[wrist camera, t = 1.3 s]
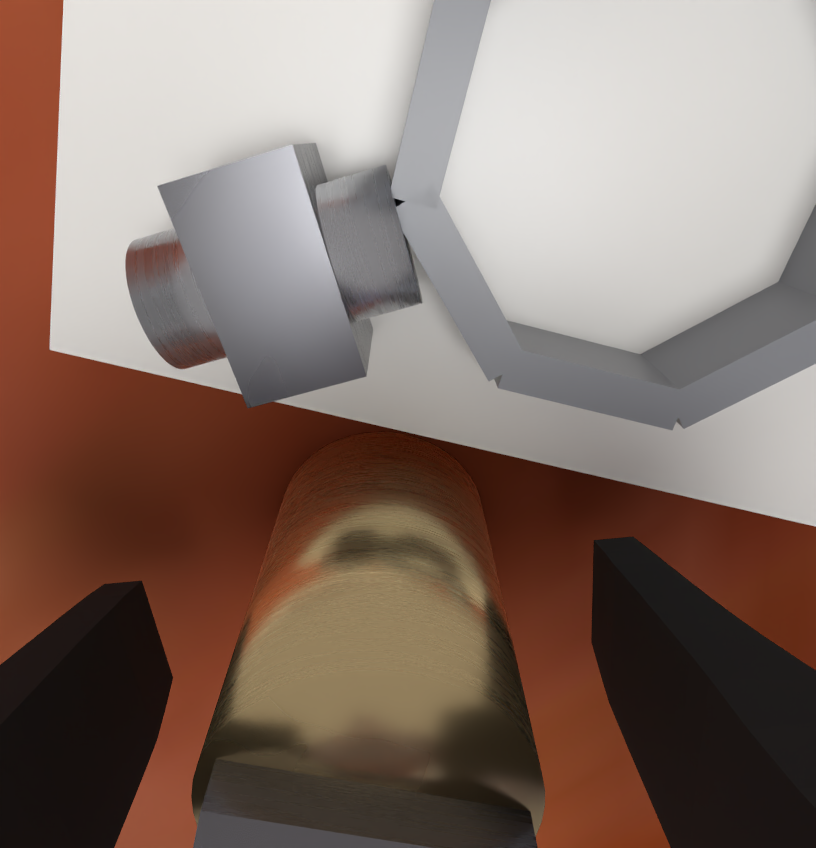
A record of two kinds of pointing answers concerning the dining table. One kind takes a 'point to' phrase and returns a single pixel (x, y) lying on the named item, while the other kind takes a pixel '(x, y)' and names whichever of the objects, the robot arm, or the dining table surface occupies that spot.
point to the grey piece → (273, 272)
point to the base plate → (497, 213)
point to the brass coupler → (373, 670)
